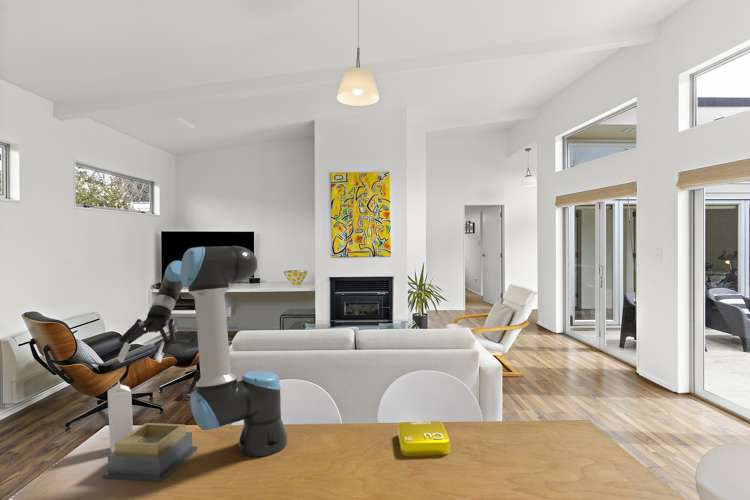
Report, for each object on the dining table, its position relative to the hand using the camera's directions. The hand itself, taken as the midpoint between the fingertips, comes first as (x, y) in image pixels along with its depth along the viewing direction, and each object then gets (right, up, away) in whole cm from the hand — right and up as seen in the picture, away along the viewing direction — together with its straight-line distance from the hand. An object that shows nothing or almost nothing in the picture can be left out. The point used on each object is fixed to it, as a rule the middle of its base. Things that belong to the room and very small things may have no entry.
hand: (138, 360), depth 148 cm
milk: (0, -26, -10) cm, 28 cm away
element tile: (+97, -24, -12) cm, 101 cm away
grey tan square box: (+15, -26, -19) cm, 36 cm away
